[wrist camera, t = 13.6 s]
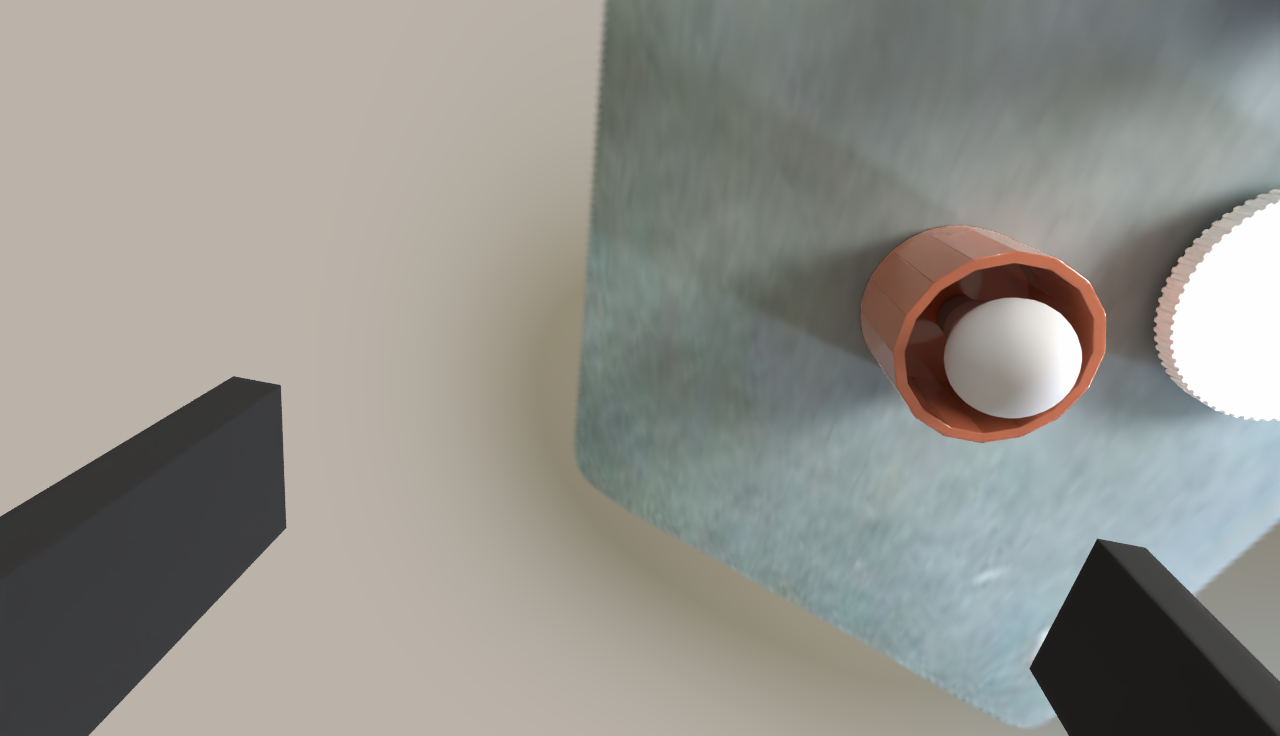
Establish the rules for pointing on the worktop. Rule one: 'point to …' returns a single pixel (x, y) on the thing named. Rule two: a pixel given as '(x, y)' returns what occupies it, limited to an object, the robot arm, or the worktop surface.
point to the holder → (984, 272)
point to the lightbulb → (1008, 354)
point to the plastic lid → (1227, 313)
